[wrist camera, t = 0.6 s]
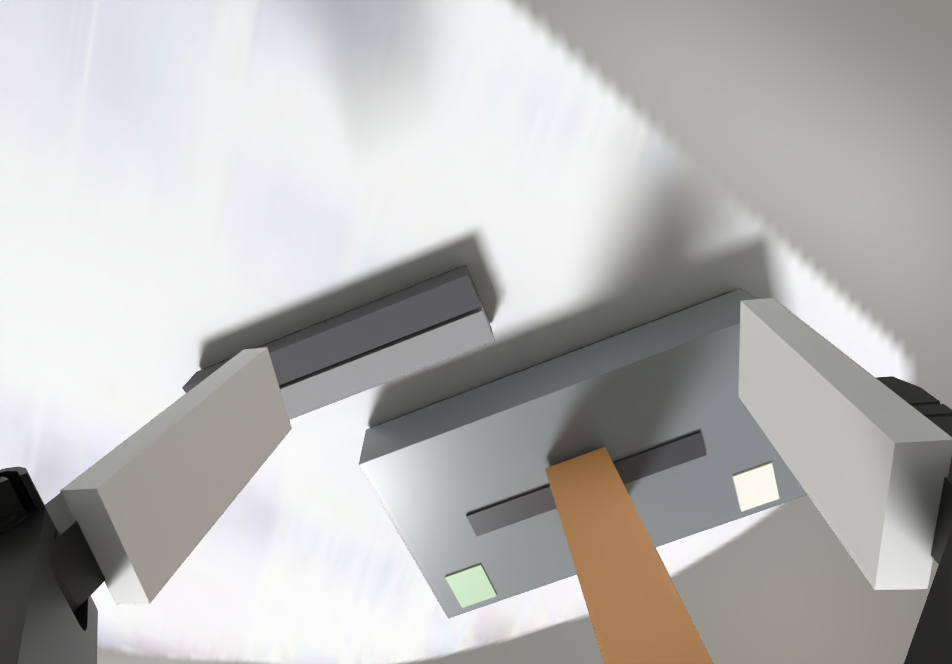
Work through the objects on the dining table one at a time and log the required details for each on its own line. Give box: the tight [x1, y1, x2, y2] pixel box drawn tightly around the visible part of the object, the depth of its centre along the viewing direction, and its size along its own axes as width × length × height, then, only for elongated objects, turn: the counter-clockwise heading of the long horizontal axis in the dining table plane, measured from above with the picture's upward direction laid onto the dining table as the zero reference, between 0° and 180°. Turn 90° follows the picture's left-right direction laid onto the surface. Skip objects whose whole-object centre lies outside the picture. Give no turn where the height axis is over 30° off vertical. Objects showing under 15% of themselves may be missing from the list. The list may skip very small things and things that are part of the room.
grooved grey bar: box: [183, 265, 495, 420], centre depth 26 cm, size 3×14×2 cm, turn 111°
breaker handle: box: [545, 447, 713, 664], centre depth 20 cm, size 5×3×14 cm, turn 21°
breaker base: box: [359, 289, 807, 618], centre depth 28 cm, size 11×20×3 cm, turn 111°
